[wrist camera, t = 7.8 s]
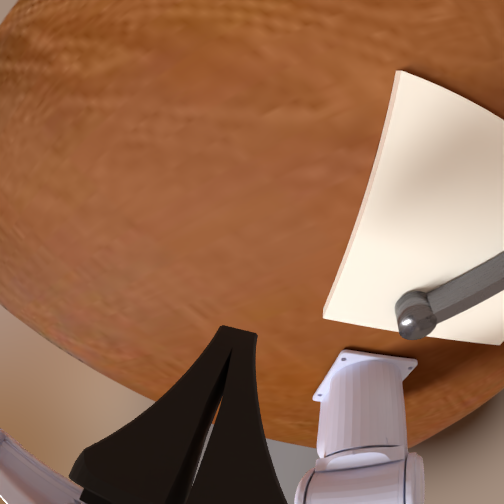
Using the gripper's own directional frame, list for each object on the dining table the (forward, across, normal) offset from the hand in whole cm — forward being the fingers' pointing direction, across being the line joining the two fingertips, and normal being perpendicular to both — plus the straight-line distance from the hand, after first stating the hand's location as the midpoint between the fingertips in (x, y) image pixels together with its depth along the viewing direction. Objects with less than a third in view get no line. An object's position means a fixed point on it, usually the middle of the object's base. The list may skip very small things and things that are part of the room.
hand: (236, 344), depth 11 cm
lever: (+8, -15, -1) cm, 17 cm away
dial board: (+9, -14, -2) cm, 17 cm away
